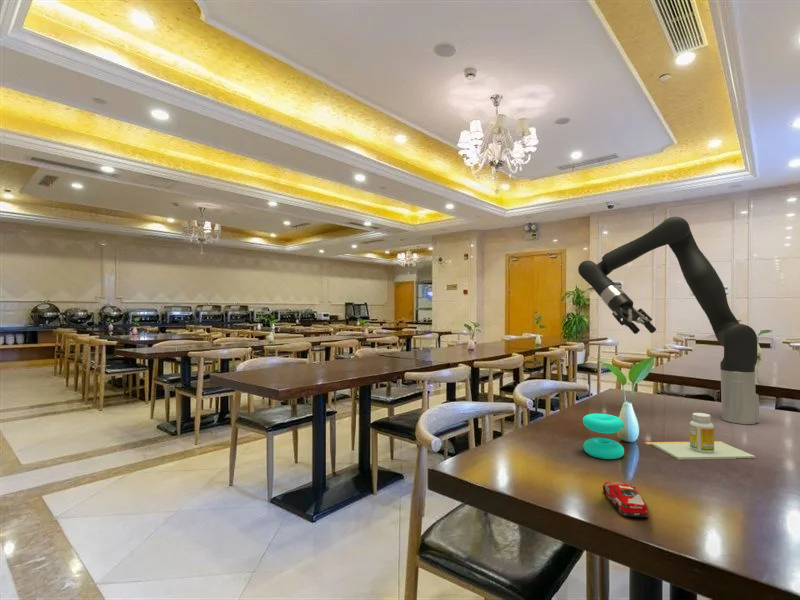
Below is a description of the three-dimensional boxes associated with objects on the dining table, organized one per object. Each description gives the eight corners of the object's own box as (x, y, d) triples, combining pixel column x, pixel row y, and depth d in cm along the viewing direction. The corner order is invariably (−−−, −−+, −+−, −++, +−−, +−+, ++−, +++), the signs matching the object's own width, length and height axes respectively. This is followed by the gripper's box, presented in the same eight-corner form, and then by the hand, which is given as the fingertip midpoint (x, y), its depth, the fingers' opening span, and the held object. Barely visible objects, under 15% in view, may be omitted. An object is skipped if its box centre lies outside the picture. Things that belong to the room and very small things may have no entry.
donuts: (628, 416, 114) (617, 424, 107) (629, 453, 114) (618, 463, 107) (589, 410, 121) (577, 417, 114) (590, 445, 121) (577, 454, 114)
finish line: (720, 442, 122) (720, 441, 122) (724, 443, 121) (724, 442, 121) (644, 443, 122) (644, 442, 122) (647, 444, 121) (647, 443, 121)
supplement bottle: (687, 449, 114) (686, 414, 115) (693, 445, 118) (692, 410, 118) (711, 454, 110) (710, 418, 110) (717, 450, 114) (716, 414, 114)
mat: (722, 444, 120) (722, 442, 120) (755, 458, 109) (755, 456, 109) (652, 445, 120) (652, 443, 120) (678, 459, 109) (678, 457, 109)
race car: (600, 490, 92) (599, 472, 92) (627, 492, 91) (626, 473, 91) (620, 520, 79) (619, 498, 79) (652, 522, 78) (651, 500, 78)
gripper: (608, 292, 153) (639, 325, 142) (635, 292, 158) (666, 324, 148) (597, 307, 157) (625, 339, 147) (623, 306, 163) (652, 338, 152)
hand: (646, 331), depth 147 cm, fingers open, 8 cm apart
